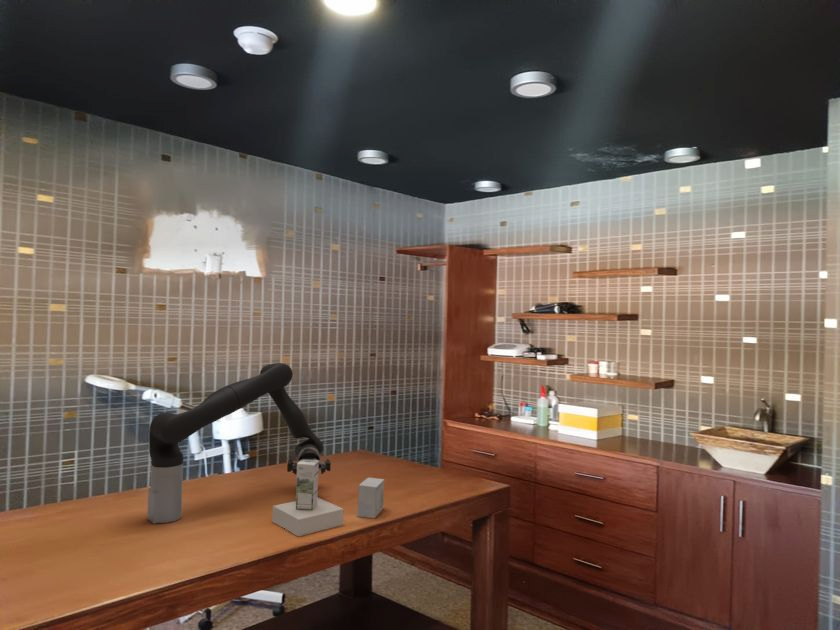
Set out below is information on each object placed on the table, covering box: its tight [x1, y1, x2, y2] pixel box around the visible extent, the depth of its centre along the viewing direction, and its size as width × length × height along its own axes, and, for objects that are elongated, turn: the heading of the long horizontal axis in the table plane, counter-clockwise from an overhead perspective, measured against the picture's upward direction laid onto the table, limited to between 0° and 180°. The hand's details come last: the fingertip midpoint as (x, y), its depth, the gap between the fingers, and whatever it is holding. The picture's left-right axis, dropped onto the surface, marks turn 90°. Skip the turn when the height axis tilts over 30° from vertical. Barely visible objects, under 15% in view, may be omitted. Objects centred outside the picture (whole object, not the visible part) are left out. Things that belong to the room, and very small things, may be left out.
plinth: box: [271, 496, 344, 537], centre depth 180 cm, size 16×16×5 cm
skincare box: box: [356, 477, 385, 519], centre depth 192 cm, size 10×6×10 cm, turn 168°
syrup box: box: [295, 460, 319, 510], centre depth 180 cm, size 6×6×14 cm
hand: (309, 471), depth 186 cm, fingers open, 8 cm apart
